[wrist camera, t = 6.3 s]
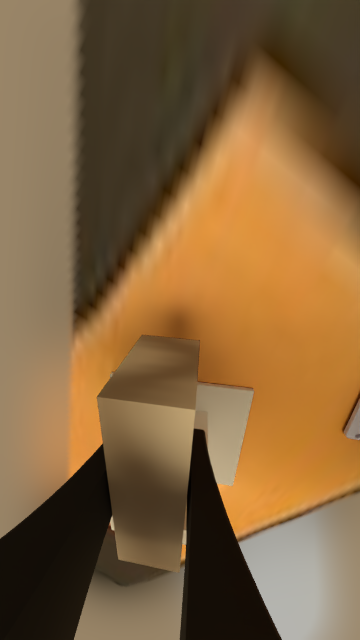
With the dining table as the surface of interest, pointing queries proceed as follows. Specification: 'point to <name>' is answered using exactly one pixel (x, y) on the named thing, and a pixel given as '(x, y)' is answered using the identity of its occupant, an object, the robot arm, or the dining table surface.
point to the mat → (224, 425)
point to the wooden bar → (150, 447)
